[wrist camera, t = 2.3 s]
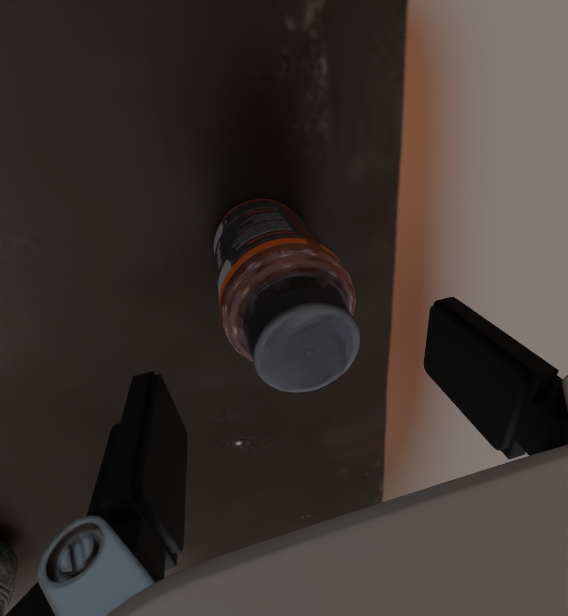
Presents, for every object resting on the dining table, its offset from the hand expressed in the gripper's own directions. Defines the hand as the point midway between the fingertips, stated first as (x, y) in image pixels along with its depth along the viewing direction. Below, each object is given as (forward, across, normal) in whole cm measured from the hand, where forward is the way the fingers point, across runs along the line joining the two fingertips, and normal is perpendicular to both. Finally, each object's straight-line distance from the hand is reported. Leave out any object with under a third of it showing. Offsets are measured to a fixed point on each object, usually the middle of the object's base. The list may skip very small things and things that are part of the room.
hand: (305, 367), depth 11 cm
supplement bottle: (+12, 0, 0) cm, 12 cm away
